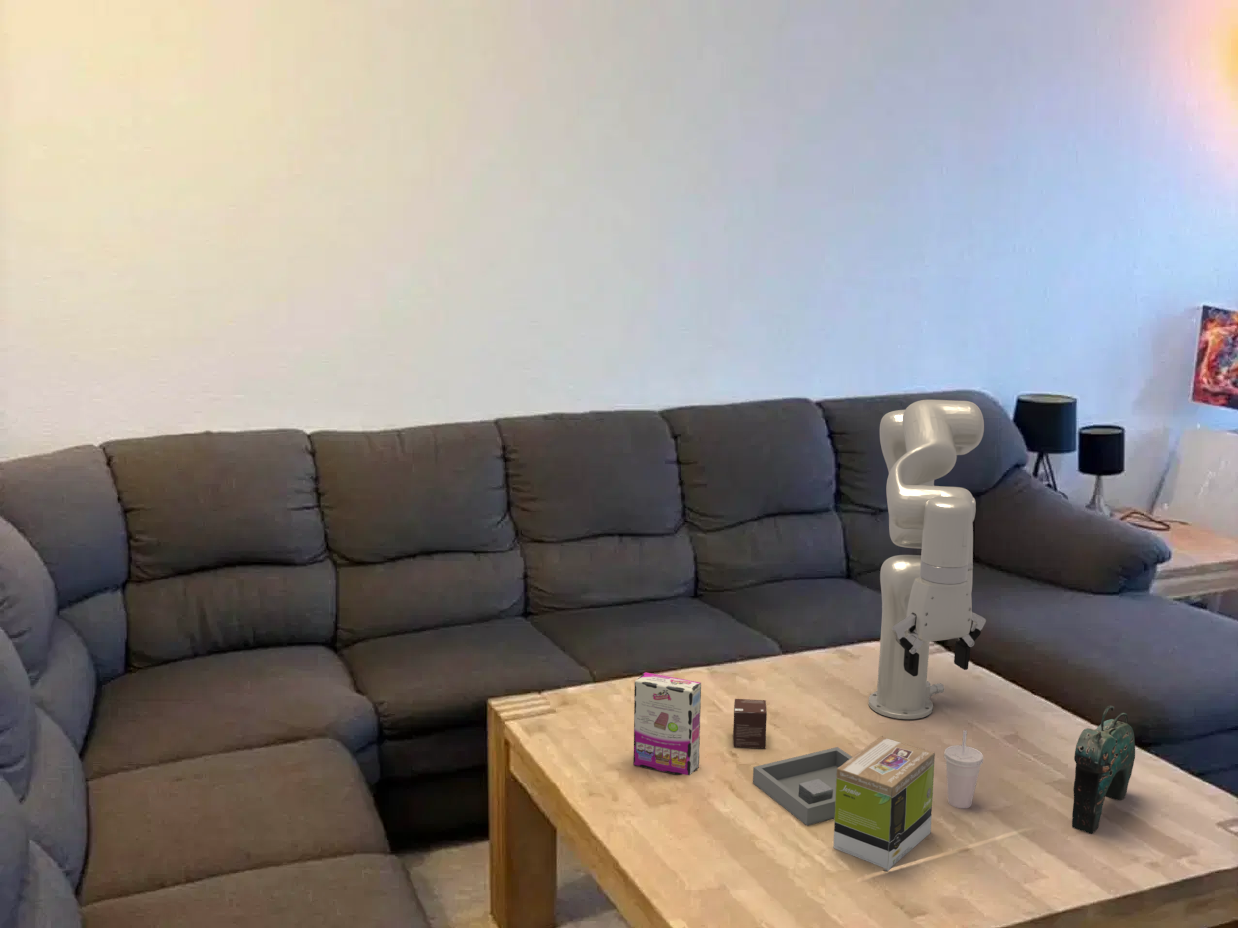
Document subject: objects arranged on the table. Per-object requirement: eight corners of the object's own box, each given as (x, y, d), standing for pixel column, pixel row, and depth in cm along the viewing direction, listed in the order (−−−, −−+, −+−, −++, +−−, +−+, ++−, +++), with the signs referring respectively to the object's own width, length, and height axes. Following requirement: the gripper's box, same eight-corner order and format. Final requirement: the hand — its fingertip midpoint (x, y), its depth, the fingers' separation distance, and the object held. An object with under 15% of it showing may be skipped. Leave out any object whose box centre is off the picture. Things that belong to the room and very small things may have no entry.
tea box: (876, 815, 208) (881, 733, 205) (931, 835, 202) (938, 751, 198) (830, 851, 197) (835, 765, 193) (888, 874, 190) (894, 785, 187)
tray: (836, 765, 225) (837, 746, 224) (893, 804, 211) (895, 785, 210) (752, 785, 217) (753, 766, 216) (806, 828, 203) (807, 808, 202)
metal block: (817, 800, 211) (818, 778, 210) (831, 810, 208) (833, 789, 207) (797, 805, 209) (799, 783, 209) (812, 816, 206) (813, 794, 205)
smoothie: (935, 809, 210) (942, 732, 207) (945, 792, 216) (951, 718, 212) (974, 818, 207) (981, 741, 204) (982, 801, 213) (989, 726, 210)
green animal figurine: (1094, 841, 201) (1108, 726, 196) (1055, 827, 205) (1067, 714, 200) (1137, 796, 216) (1150, 688, 211) (1100, 784, 220) (1112, 678, 215)
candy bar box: (700, 766, 224) (703, 681, 220) (689, 778, 219) (692, 691, 216) (643, 753, 228) (645, 670, 225) (631, 765, 224) (633, 680, 220)
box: (765, 735, 237) (766, 699, 235) (765, 749, 231) (767, 713, 229) (732, 733, 237) (734, 697, 236) (732, 747, 231) (734, 711, 230)
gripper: (974, 561, 211) (967, 656, 214) (885, 569, 205) (878, 667, 209) (1002, 574, 204) (993, 672, 207) (910, 583, 198) (903, 684, 202)
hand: (936, 670), depth 208 cm, fingers open, 9 cm apart
